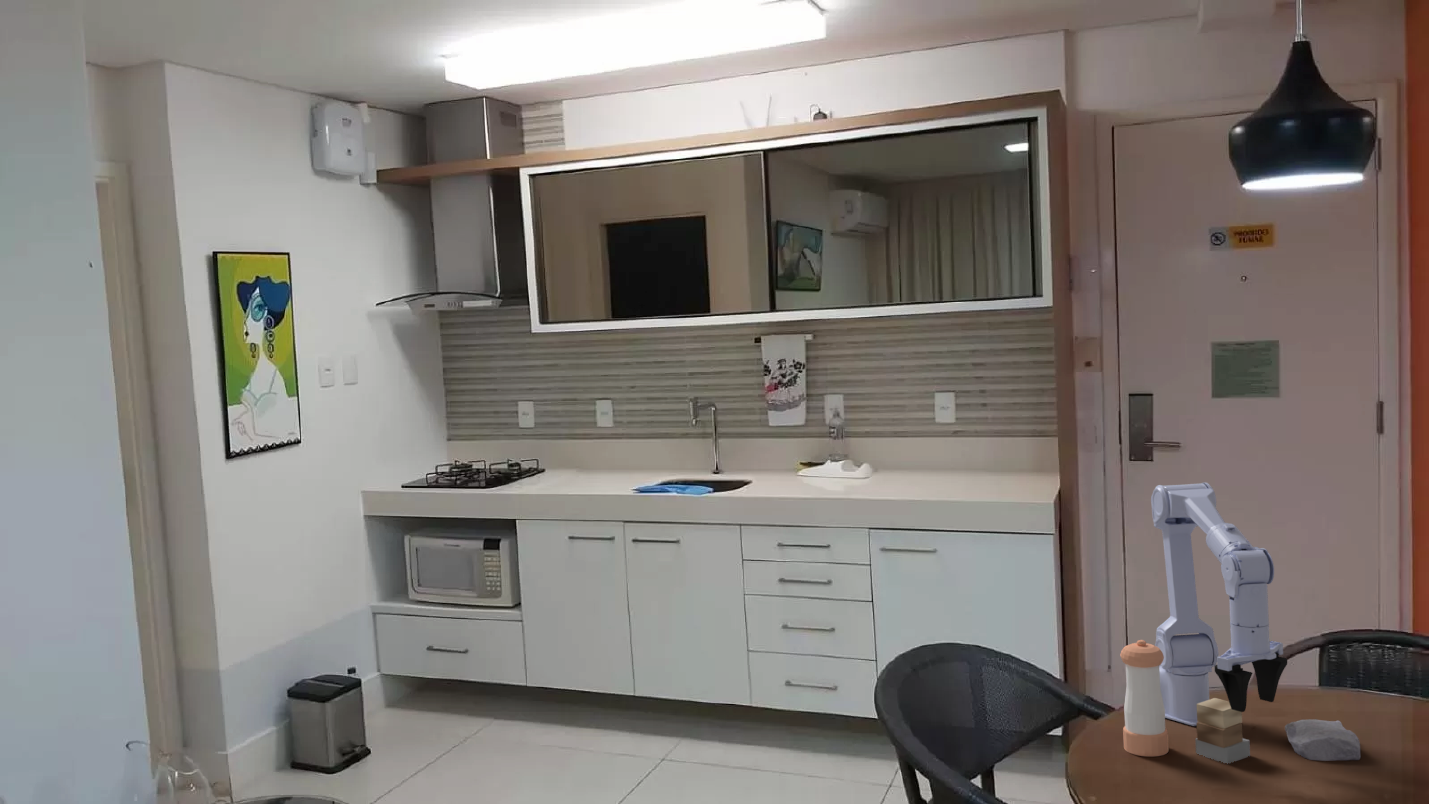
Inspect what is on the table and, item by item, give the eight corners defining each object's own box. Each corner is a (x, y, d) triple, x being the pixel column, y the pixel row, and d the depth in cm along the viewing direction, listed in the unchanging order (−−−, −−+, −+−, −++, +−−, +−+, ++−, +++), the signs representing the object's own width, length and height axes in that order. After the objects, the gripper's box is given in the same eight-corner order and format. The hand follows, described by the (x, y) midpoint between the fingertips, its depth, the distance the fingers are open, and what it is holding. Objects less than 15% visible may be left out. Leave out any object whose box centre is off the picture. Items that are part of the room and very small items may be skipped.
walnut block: (1197, 739, 189) (1196, 722, 189) (1216, 733, 192) (1215, 716, 192) (1223, 748, 185) (1222, 730, 185) (1242, 741, 187) (1241, 723, 187)
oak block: (1197, 721, 190) (1196, 704, 190) (1215, 715, 192) (1214, 697, 192) (1223, 728, 185) (1223, 711, 185) (1242, 722, 188) (1241, 704, 188)
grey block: (1196, 755, 190) (1195, 738, 190) (1218, 748, 193) (1217, 731, 193) (1227, 766, 185) (1226, 748, 185) (1250, 757, 188) (1249, 740, 188)
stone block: (1304, 772, 184) (1368, 760, 183) (1297, 744, 185) (1360, 732, 183) (1281, 749, 196) (1341, 738, 194) (1274, 722, 196) (1334, 711, 194)
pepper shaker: (1175, 747, 194) (1170, 638, 193) (1159, 759, 188) (1154, 648, 188) (1133, 739, 199) (1128, 633, 198) (1117, 751, 193) (1112, 642, 192)
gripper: (1244, 635, 174) (1247, 721, 175) (1299, 619, 182) (1302, 701, 182) (1204, 627, 181) (1207, 710, 181) (1259, 612, 188) (1262, 692, 188)
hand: (1252, 705), depth 182 cm, fingers open, 7 cm apart
